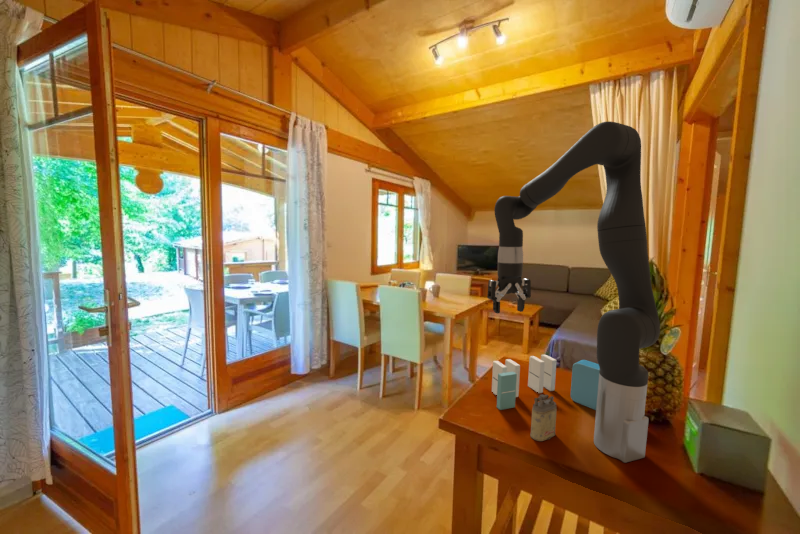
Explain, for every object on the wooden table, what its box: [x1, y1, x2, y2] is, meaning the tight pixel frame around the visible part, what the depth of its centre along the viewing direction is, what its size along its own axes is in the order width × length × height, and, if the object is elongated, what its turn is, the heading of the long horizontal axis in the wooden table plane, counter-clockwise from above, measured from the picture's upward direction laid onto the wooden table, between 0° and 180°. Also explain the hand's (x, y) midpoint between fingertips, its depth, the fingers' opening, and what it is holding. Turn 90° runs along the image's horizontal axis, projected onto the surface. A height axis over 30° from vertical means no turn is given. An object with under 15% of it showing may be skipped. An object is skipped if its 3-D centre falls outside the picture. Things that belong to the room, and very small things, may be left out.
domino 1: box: [491, 360, 507, 396], centre depth 103 cm, size 2×5×10 cm, turn 18°
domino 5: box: [540, 354, 557, 392], centre depth 108 cm, size 2×5×10 cm, turn 18°
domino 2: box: [504, 358, 521, 398], centre depth 104 cm, size 2×5×10 cm, turn 18°
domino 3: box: [496, 372, 517, 411], centre depth 96 cm, size 2×5×10 cm, turn 108°
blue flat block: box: [570, 359, 600, 411], centre depth 97 cm, size 12×4×12 cm, turn 38°
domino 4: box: [527, 355, 545, 394], centre depth 107 cm, size 2×5×10 cm, turn 18°
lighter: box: [530, 393, 558, 442], centre depth 83 cm, size 7×4×10 cm, turn 120°
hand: (508, 312), depth 107 cm, fingers open, 8 cm apart
